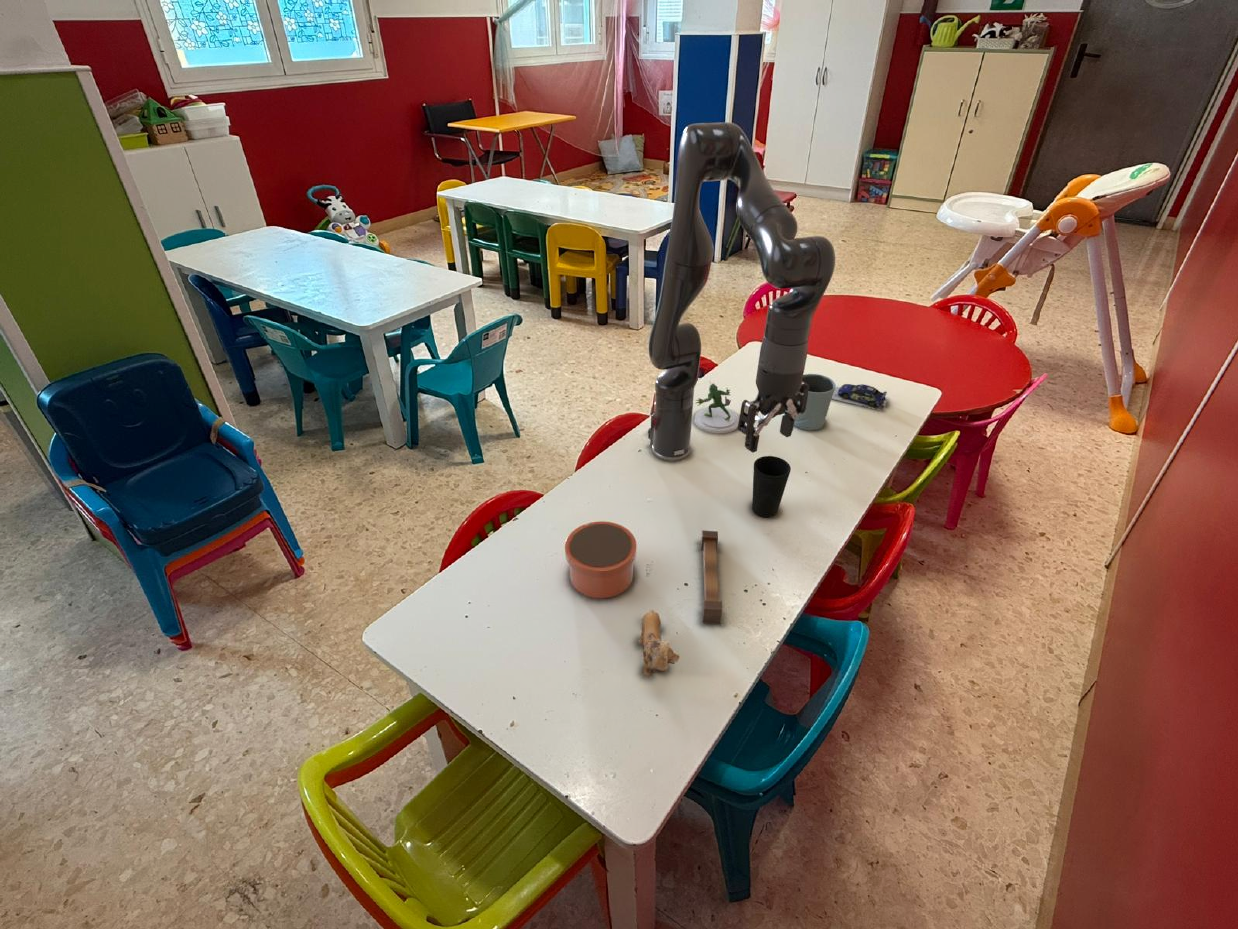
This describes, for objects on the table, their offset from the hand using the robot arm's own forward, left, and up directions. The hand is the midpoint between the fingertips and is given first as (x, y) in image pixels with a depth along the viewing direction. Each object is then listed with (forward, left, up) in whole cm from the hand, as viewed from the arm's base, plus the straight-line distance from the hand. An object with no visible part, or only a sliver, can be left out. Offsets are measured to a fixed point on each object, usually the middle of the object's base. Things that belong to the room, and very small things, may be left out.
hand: (768, 442), depth 114 cm
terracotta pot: (-14, -28, -27) cm, 41 cm away
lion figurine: (+7, -33, -27) cm, 43 cm away
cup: (-6, +12, -27) cm, 31 cm away
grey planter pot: (-22, +49, -27) cm, 61 cm away
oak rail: (+1, -13, -27) cm, 30 cm away
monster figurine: (-38, +31, -27) cm, 57 cm away
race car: (-21, +70, -27) cm, 78 cm away
